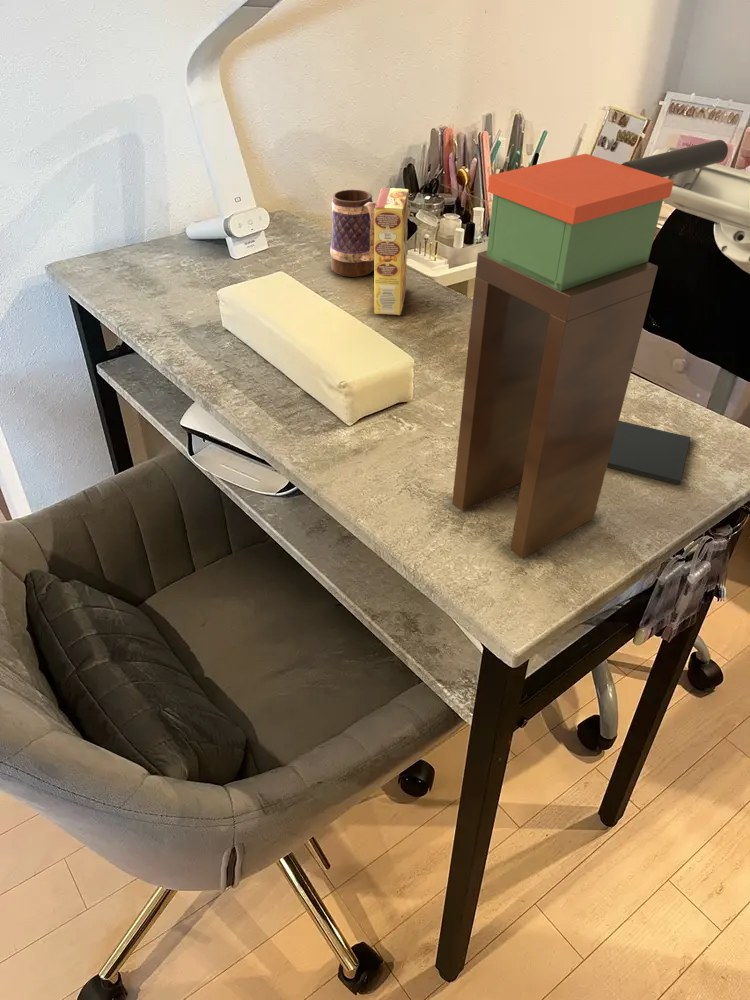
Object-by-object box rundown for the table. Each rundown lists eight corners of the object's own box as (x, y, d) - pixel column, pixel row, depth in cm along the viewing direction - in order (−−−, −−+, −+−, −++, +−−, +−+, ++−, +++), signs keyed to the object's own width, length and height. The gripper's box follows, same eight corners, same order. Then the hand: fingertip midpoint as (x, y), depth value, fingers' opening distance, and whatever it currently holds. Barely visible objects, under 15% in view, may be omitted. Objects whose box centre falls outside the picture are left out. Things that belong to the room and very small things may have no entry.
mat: (689, 441, 87) (690, 436, 87) (679, 485, 81) (681, 480, 80) (600, 420, 90) (601, 416, 90) (584, 461, 84) (585, 457, 83)
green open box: (572, 231, 66) (583, 170, 62) (648, 261, 61) (664, 196, 57) (485, 256, 61) (492, 192, 58) (560, 291, 56) (572, 222, 53)
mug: (323, 265, 125) (321, 189, 117) (361, 257, 128) (361, 183, 120) (353, 288, 118) (353, 209, 110) (392, 280, 121) (395, 202, 113)
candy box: (401, 316, 111) (405, 208, 101) (372, 314, 111) (373, 207, 101) (406, 291, 118) (410, 188, 108) (378, 289, 118) (380, 186, 108)
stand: (522, 469, 83) (563, 228, 66) (593, 518, 76) (658, 266, 60) (451, 503, 78) (477, 252, 62) (521, 558, 72) (570, 296, 55)
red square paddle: (673, 150, 68) (679, 128, 67) (760, 174, 63) (768, 151, 62) (486, 195, 58) (489, 170, 57) (572, 229, 53) (576, 202, 52)
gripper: (693, 166, 81) (635, 108, 72) (887, 221, 69) (849, 160, 59) (661, 223, 83) (600, 175, 73) (844, 287, 71) (800, 239, 61)
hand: (712, 168), depth 66 cm, fingers open, 8 cm apart
